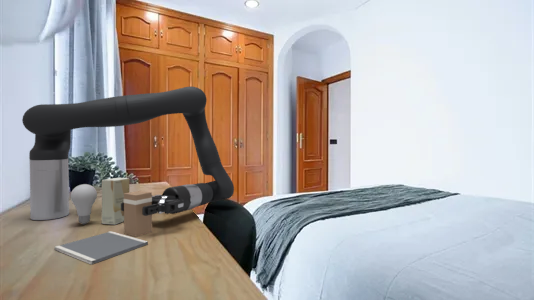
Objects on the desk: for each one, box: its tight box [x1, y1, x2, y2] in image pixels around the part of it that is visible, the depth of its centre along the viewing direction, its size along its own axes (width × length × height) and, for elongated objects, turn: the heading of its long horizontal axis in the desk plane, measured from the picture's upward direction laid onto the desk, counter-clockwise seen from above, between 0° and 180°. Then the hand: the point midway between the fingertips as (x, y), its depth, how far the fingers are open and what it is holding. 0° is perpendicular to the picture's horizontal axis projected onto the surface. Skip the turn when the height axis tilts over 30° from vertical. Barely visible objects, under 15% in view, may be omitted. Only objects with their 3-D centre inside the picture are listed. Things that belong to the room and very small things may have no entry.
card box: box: [123, 190, 153, 238], centre depth 70 cm, size 5×5×10 cm
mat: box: [54, 231, 149, 265], centre depth 61 cm, size 14×12×1 cm
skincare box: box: [101, 177, 130, 226], centre depth 80 cm, size 6×4×12 cm
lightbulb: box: [69, 183, 98, 225], centre depth 77 cm, size 6×6×11 cm
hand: (132, 209), depth 69 cm, fingers open, 8 cm apart
